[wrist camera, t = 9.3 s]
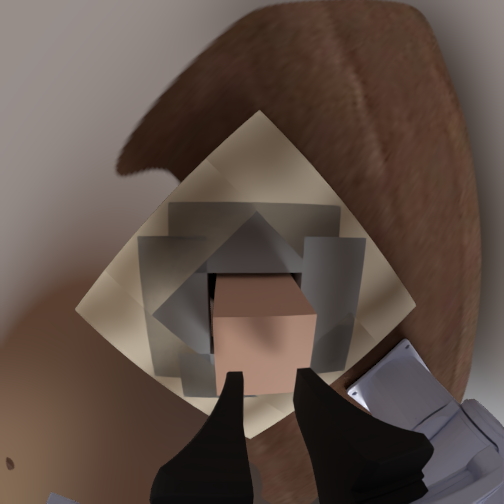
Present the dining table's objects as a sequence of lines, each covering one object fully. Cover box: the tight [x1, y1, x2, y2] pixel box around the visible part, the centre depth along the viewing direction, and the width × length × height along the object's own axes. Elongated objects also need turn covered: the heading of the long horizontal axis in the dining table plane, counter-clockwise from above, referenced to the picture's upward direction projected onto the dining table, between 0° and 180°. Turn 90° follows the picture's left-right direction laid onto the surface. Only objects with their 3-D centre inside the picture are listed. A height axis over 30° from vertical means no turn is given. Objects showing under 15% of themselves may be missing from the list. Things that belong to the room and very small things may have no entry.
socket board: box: [75, 110, 416, 439], centre depth 20 cm, size 19×19×2 cm
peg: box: [213, 273, 317, 396], centre depth 18 cm, size 5×5×8 cm
